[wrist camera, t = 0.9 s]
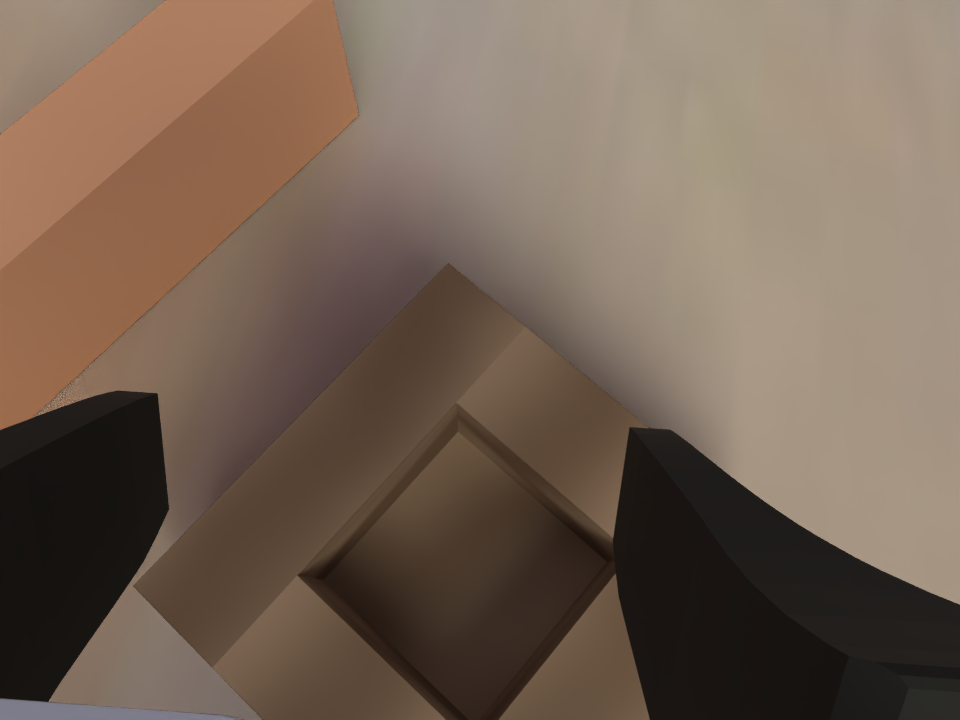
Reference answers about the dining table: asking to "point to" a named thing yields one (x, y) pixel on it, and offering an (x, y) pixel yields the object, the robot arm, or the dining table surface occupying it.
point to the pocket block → (422, 537)
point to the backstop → (152, 172)
